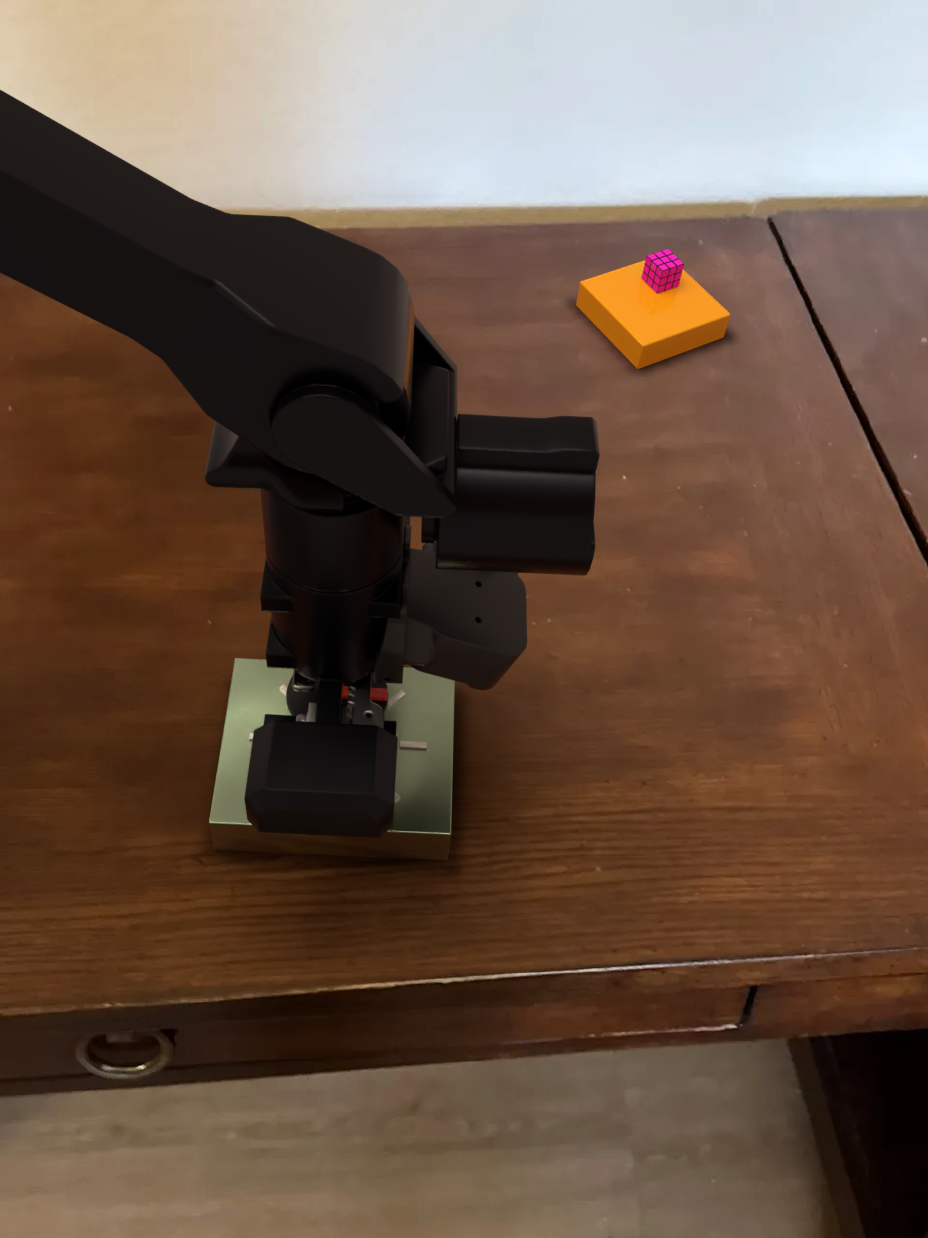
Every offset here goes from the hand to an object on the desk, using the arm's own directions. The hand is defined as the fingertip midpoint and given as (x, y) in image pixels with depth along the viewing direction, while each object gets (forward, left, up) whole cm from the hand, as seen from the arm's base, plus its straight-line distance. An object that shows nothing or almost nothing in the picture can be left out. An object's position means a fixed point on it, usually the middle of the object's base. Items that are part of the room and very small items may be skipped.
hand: (337, 737), depth 63 cm
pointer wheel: (0, 0, 0) cm, 0 cm away
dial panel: (0, 0, -4) cm, 4 cm away
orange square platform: (+20, +40, -4) cm, 44 cm away
